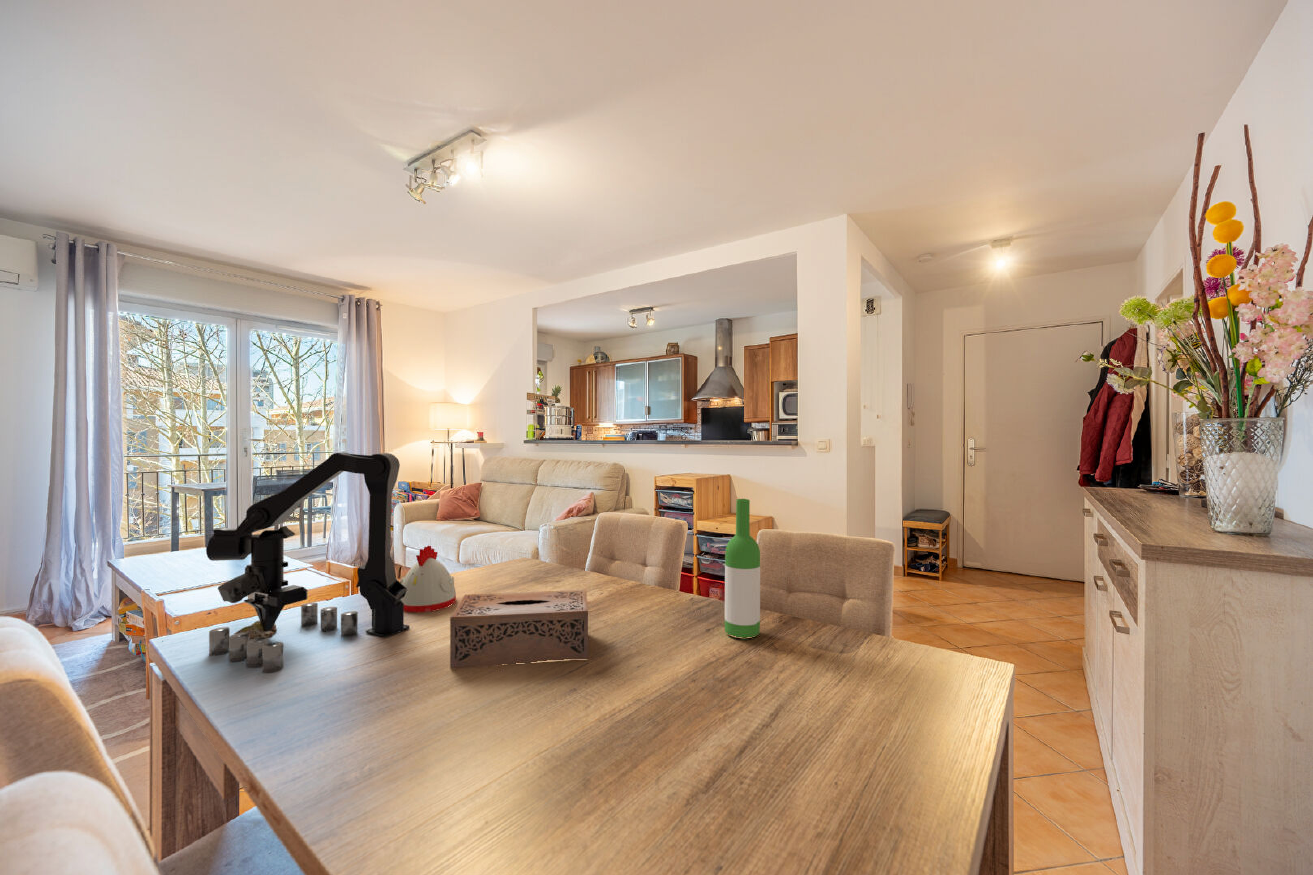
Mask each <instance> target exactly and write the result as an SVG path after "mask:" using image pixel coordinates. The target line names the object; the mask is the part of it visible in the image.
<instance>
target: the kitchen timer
mask: <svg viewBox="0 0 1313 875" xmlns="http://www.w3.org/2000/svg"><path fill="white" fill-rule="evenodd" d="M437 557H438V551H435V548H432V546H431V545H427V546H424V547H423V548H420V549H419V555H418V554H417V555H416V560H417V562H416V563H414V565H412V566H411V568H409V570H408V572H407V574H406V575H405V576H404V577H403V576H402V577H401V578H400V581H399V582H400V583H401V584H402V585H404V586H405V587H406V588H407V591H406V594H405V596H404V598H402V599H401V601H402V603H404V612H407V613H427V612H434V611H433V610H435V611H438V610H437V609H440V610H442V609H441V608H443V609H446V608H445V607H447V608H448V606H449V605H451V604H453V603H454V602H455V603H456V601H457V597H456V595H457V594H456V588H455V577H454V576H451V573H450V572H449V570H448V569H447V567H446V566H444V564H443V563H441V562H440V561H438V560H437ZM455 600H456V601H455ZM455 603H454V604H455ZM454 604H453V605H454ZM451 606H452V605H451ZM449 607H450V606H449Z"/></svg>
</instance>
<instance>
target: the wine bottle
mask: <svg viewBox="0 0 1313 875" xmlns="http://www.w3.org/2000/svg"><path fill="white" fill-rule="evenodd" d="M735 502H736V503H735V504H736V505H735V507H736V508H735V509H736V510H735V515H736V516H735V535H734V536H733V537H731V539H729V541H728V542H727V544H726V547H725V552H724V631H725V633H726V634H727V633H728V634H730V635H733V636H736V637H742V638H747V637H753V636H756V635H758V636H759V634H760V630H761V629H760V628H761V626H760V625H761V624H760V623H761V622H760V621H761V550H760V547H759V544H758V543H757V541H756V540H755V539H754V538H753V537H752V536H751V532H750V529H751V528H750V526H751V525H750V520H751V518H750V511H751V510H750V508H751V507H750V499H748V498H737V499H736V501H735ZM728 634H727V635H728Z"/></svg>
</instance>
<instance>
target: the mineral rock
mask: <svg viewBox="0 0 1313 875" xmlns="http://www.w3.org/2000/svg"><path fill="white" fill-rule="evenodd" d="M277 632H278V628H277V624H276V623H275V624H274V626H273V627H272V629H271V630H270V631H268V632H265V631H264V630H263V628H262V625H261V622H260V620H257V621H255V622H253V623H252V624H249V625H247V626H243V627H242V628H241V629H239V630H238V631H236V632H234V634H238V633H249V634H250V640H252V639H256V638H267V639H269V638H271V637H272V636H273V637H274V634H276V633H277Z"/></svg>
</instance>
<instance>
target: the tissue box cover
mask: <svg viewBox="0 0 1313 875" xmlns="http://www.w3.org/2000/svg"><path fill="white" fill-rule="evenodd" d="M449 618H450V619H449V620H450V621H449V623H450V624H449V628H450V629H449V631H450V632H449V633H450V634H449V635H450V637H449V640H450V642H449V643H450V644H449V651H450V652H449V655H450V657H449V661H450V662H449V665H450V668H449V669H450V670H451V669H453V668H454V669H467V668H484V667H483V666H487V667H493V666H492V665H502V664H516V663H531V662H537V661H547V660H564V659H588V660H589V607H588V598H587V590H586V589H576V590H575V589H573V590H572V589H571V590H548V591H546V590H545V591H526V592H523V591H522V592H503V593H502V592H499V593H498V592H496V593H477V594H476V593H474V594H473V593H472V594H464V596H462V598H461V600H460V601H459V603H458V604H457V606H456V607H455V610H454V611H453V612H452V614H451V615H450V617H449Z"/></svg>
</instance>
